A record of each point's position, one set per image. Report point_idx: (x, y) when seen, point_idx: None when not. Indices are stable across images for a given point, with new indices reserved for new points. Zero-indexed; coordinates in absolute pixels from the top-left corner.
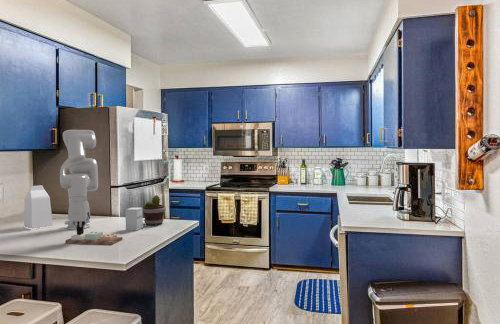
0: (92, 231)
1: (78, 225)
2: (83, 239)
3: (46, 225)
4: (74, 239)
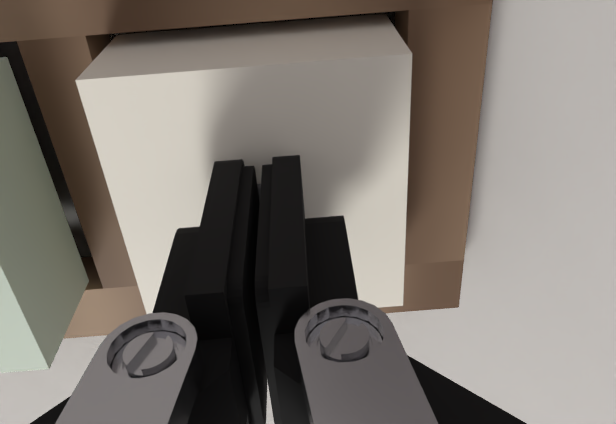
0: (43, 366)
1: (277, 374)
2: None
3: None
4: (309, 34)
